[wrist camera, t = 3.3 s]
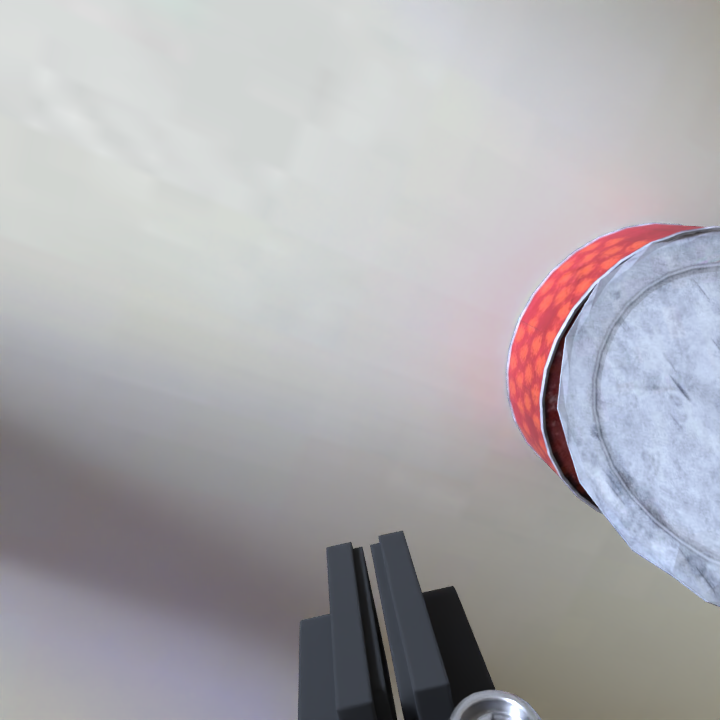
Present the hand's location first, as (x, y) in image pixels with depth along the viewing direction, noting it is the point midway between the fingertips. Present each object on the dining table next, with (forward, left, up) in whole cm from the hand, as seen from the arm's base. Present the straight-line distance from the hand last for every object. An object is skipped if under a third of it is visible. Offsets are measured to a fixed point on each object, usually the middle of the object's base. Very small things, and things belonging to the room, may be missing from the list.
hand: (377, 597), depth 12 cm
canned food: (-1, +11, -9) cm, 14 cm away
